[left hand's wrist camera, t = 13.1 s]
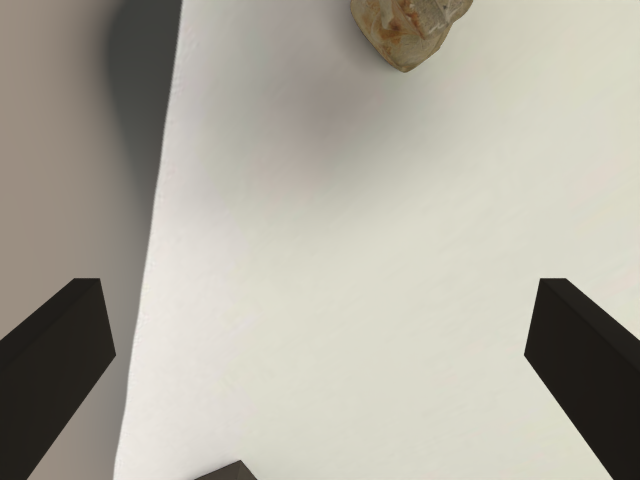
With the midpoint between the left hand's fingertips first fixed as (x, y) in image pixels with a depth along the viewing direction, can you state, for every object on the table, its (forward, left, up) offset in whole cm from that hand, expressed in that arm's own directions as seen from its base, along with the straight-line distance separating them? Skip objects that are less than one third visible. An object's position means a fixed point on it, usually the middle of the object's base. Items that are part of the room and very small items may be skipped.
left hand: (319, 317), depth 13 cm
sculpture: (-12, +3, -28) cm, 31 cm away
